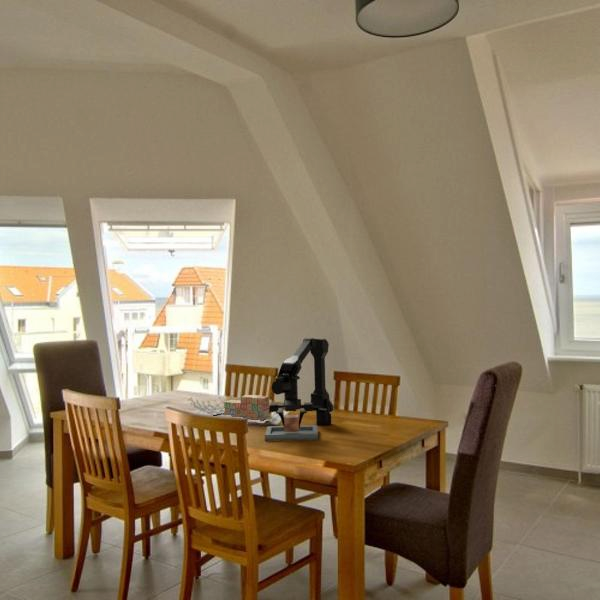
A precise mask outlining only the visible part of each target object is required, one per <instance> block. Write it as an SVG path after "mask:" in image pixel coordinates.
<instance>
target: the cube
mask: <svg viewBox="0 0 600 600" xmlns="http://www.w3.org/2000/svg"><path fill="white" fill-rule="evenodd" d="M299 415H300V414H284V426H285V432H299Z"/></svg>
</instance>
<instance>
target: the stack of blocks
mask: <svg viewBox="0 0 600 600" xmlns="http://www.w3.org/2000/svg"><path fill="white" fill-rule="evenodd" d="M223 404H224V406H223V407H224V408H225V413H224V416H225V415H231V416H232V417H243V418H247V419H251V420H260V421H264V420H266V419H268V417H269V418H270V412H269V406H270V396H268V395H259V394H245V395H242V396H240V399H239V400H238V399H236V400H235V399H229V400H226V401H224V403H223Z"/></svg>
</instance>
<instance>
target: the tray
mask: <svg viewBox="0 0 600 600" xmlns="http://www.w3.org/2000/svg"><path fill="white" fill-rule="evenodd" d="M265 440H292V441H318V440H319V431H318V425H315V424H314V425H313V424H312V425H300V427H299V432H285V428H284V426H283V425H278V426H277V425H273V426H272V425H270V426H266V430H265V433H264V441H265Z"/></svg>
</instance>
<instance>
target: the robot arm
mask: <svg viewBox="0 0 600 600" xmlns="http://www.w3.org/2000/svg"><path fill="white" fill-rule="evenodd" d="M329 344H330V343H329V341H328V340H327V339H326V338H314V337H305V338H303V340H302V342H301V344H300V345H299V347H298V348H297V349H296V351H295V352H294V353H293V354H292V355H291V356H290V357H288V358H286V359H285V360H284V361H283V362H282V364H281V366H280V368H279V371H278V373H277V377H275V379H274V381H273V382H272V384H271V387H270V388H271V390H272V392H273V394H274V395H281V394H284V396H283V397H284V399H283V404H282V405H281V404H280V403H279V402H273V403H271V402H270V403H269V413H275V414H277V415H278V416H279V417H280V420H281V422H282V426H284V417H285V413H284V411H285V412H297V410H299V414H298V415H299V427H300V426H301V423H302V421H303V417H304V415H305V414H307V413H308V412H314V411H315V414H316V415H315V417H316V418H315V420H316V421H315V424H316V425H317V426H330V425H331V423H332V413H331V412H333V411H334V408H335V405H334V404H333V403H332V401H331V400H330V394H329V392H328V390H327V389H326V356H327V355H328V353H329V347H330V346H329ZM309 353H310V354H311V356H312V357H313V361H314V362H313V365H314V367H313V370H314V374H313V375H314V390H313V392H312V393H310V402H304V403H303V404H302V399H301V398H299V397H298V395H299V393H298V391H299V390H298V388H299V386H298V380H301V378H300V376H299V375H298V374H300V371H301V369H302V363H303V361H304V360H305V359H306V357H307V356H308V355H309ZM284 428H285V426H284Z"/></svg>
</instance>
